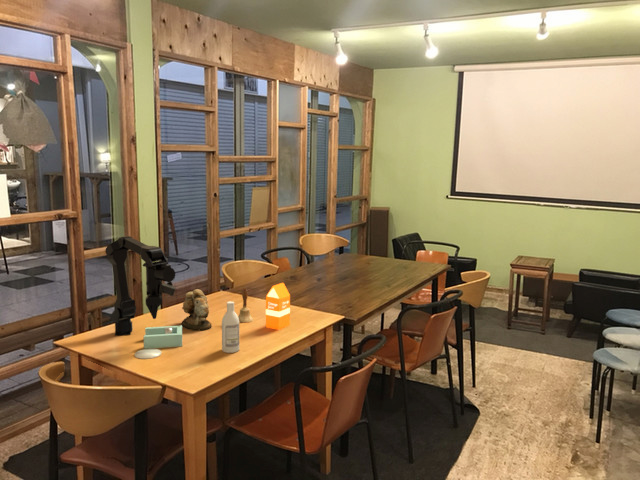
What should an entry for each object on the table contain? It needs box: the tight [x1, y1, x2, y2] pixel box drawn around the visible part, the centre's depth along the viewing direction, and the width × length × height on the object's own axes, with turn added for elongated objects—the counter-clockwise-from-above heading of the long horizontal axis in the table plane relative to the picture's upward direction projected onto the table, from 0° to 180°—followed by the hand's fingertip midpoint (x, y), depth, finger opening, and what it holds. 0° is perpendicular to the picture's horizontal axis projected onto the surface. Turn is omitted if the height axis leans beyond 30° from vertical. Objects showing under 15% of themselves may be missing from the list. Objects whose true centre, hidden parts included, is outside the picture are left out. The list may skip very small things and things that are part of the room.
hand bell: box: [237, 287, 254, 323], centre depth 251 cm, size 8×8×16 cm
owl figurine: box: [180, 288, 213, 332], centre depth 242 cm, size 18×12×17 cm, turn 48°
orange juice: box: [265, 282, 291, 331], centre depth 243 cm, size 8×9×20 cm
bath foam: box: [221, 301, 240, 354], centre depth 211 cm, size 7×7×20 cm
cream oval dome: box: [134, 348, 162, 360], centre depth 206 cm, size 10×10×1 cm
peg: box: [165, 327, 172, 334], centre depth 221 cm, size 3×3×6 cm
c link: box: [143, 325, 183, 349], centre depth 219 cm, size 15×12×5 cm
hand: (154, 315), depth 215 cm, fingers open, 9 cm apart
